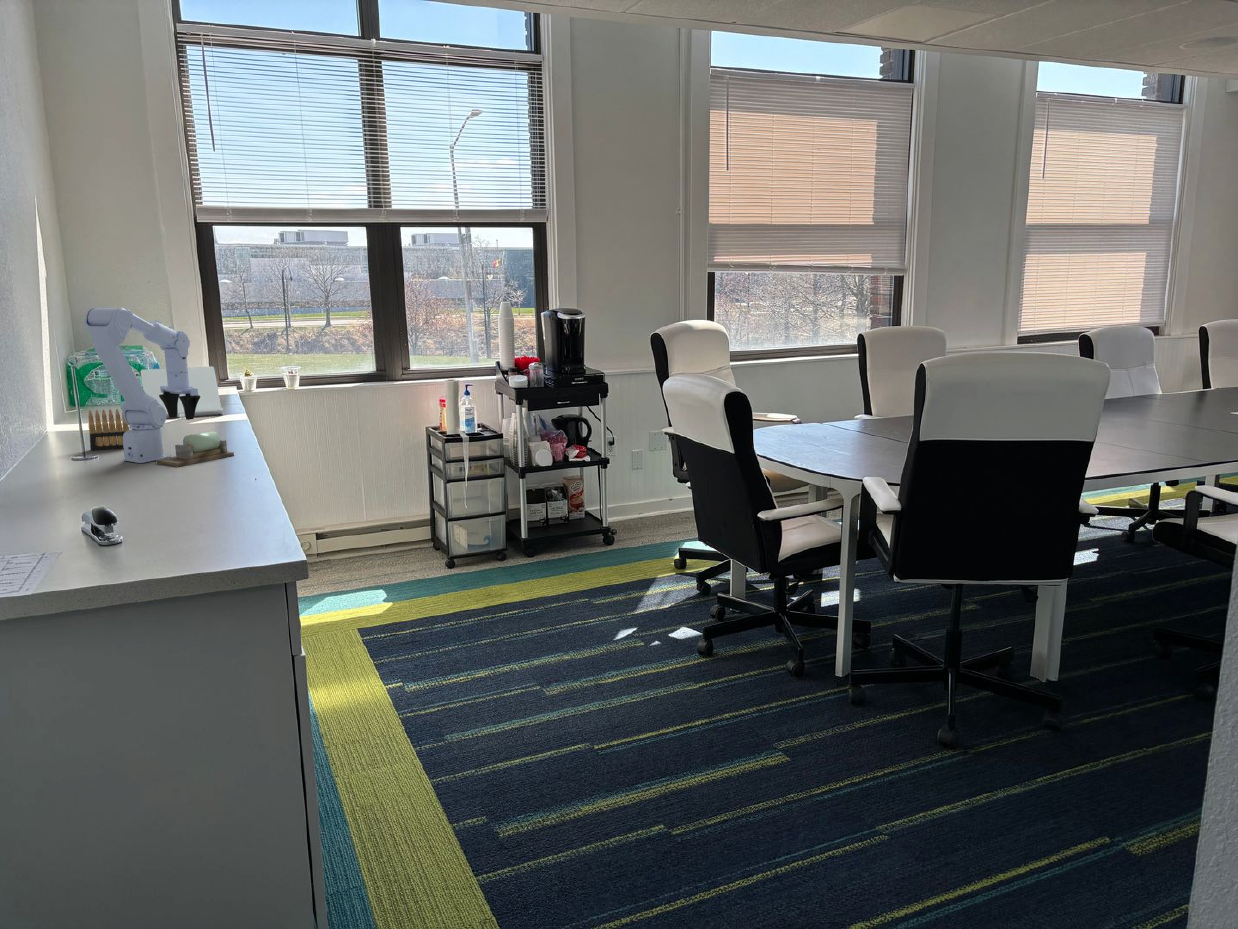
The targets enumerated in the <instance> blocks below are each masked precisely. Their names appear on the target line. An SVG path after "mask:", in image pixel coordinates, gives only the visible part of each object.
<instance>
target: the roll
mask: <svg viewBox="0 0 1238 929" xmlns="http://www.w3.org/2000/svg"><path fill="white" fill-rule="evenodd" d="M220 440H221V439H220V436H219V435H218V433H217V432H216V431H213V430H212V431H206V432H200V433H194V434H188V435H185V436H184V437H183V440H182V445H185V446H192V448H193V453H197V452H202V451H207V450H213V449H217V448H218V447H219V445H220Z"/></svg>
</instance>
